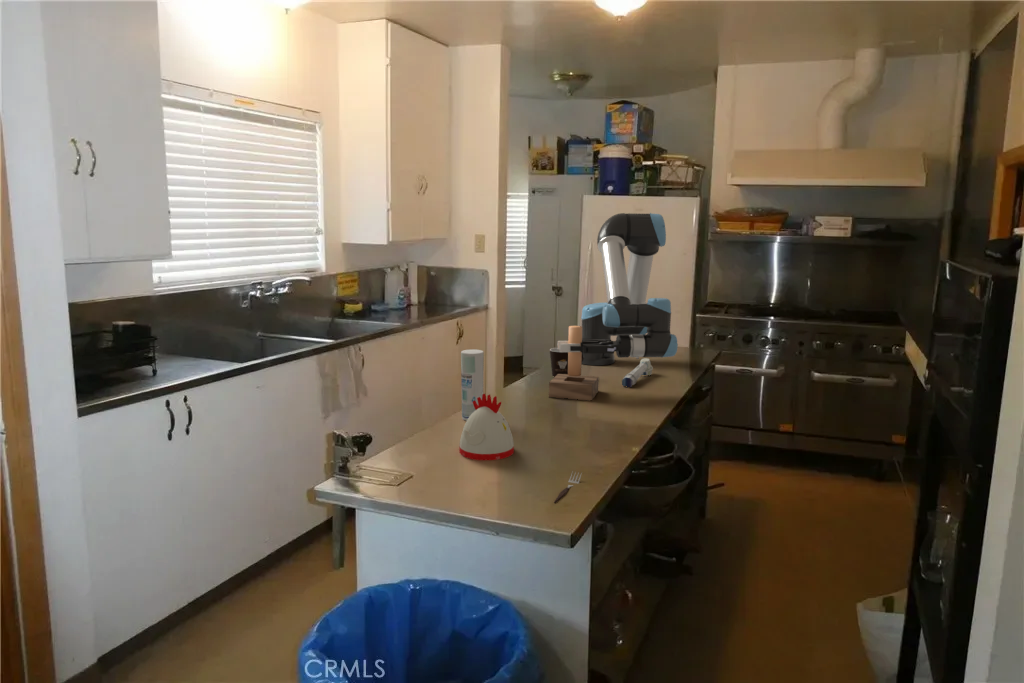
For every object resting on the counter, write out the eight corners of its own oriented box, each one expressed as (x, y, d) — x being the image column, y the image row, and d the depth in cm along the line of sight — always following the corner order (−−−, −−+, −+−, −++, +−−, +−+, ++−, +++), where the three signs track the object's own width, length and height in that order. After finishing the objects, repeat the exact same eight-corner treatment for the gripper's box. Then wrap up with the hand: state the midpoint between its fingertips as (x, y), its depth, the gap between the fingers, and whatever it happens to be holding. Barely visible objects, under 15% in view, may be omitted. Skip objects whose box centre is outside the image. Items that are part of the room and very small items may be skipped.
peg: (569, 373, 250) (570, 325, 247) (582, 373, 248) (583, 326, 246) (566, 375, 245) (567, 327, 243) (579, 376, 244) (580, 328, 241)
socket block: (557, 388, 257) (557, 373, 256) (598, 391, 253) (598, 376, 252) (549, 397, 244) (549, 382, 243) (591, 400, 241) (591, 385, 240)
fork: (548, 504, 159) (548, 495, 158) (571, 479, 173) (571, 470, 173) (560, 505, 158) (560, 496, 157) (582, 480, 172) (582, 472, 172)
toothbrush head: (619, 376, 258) (640, 353, 279) (619, 394, 260) (640, 370, 281) (634, 378, 256) (654, 355, 277) (634, 396, 258) (654, 372, 279)
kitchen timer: (494, 464, 182) (494, 404, 179) (448, 454, 189) (447, 396, 186) (523, 448, 193) (524, 392, 191) (479, 439, 201) (479, 385, 198)
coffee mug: (546, 378, 271) (546, 351, 269) (553, 373, 279) (554, 346, 277) (576, 381, 267) (577, 353, 265) (583, 376, 275) (584, 349, 273)
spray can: (488, 418, 220) (488, 351, 217) (472, 422, 216) (472, 354, 212) (472, 413, 225) (472, 348, 221) (456, 418, 220) (456, 351, 216)
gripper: (635, 362, 239) (562, 363, 237) (623, 352, 256) (555, 352, 254) (635, 339, 237) (562, 339, 236) (623, 330, 254) (555, 330, 253)
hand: (558, 346), depth 245 cm, fingers closed on peg, 4 cm apart
